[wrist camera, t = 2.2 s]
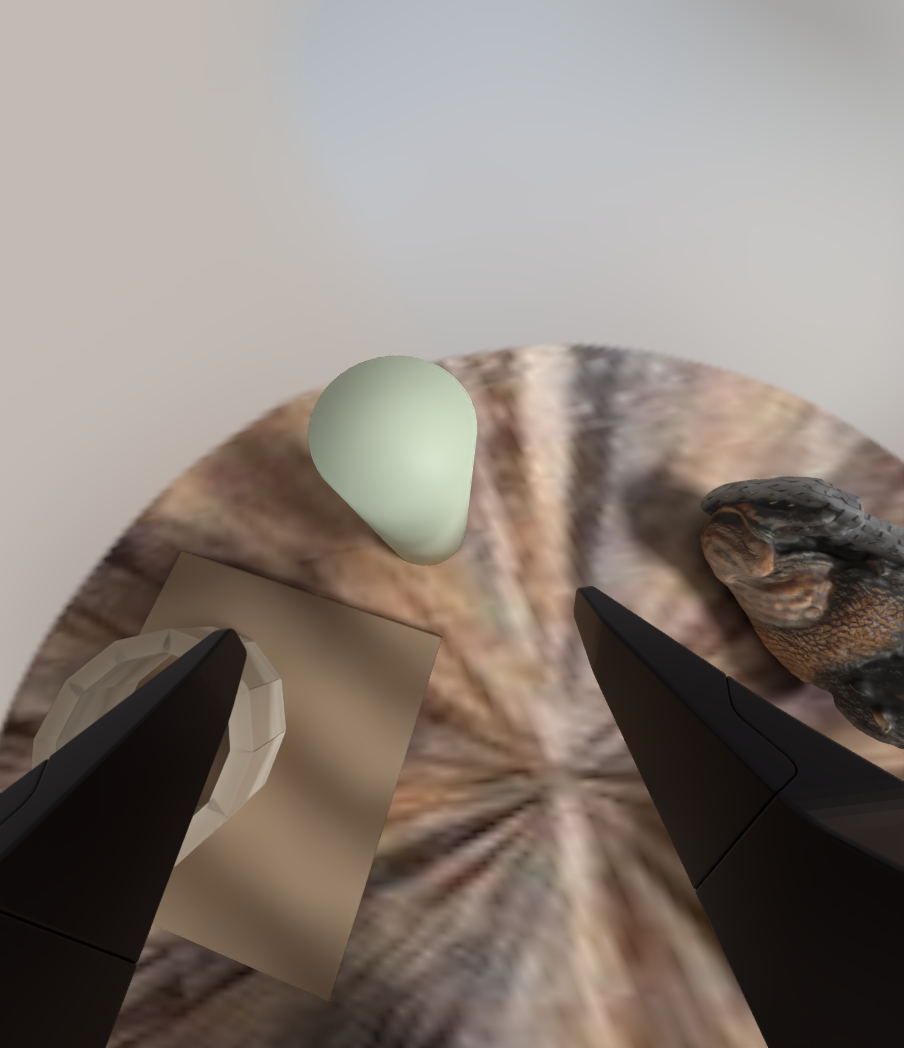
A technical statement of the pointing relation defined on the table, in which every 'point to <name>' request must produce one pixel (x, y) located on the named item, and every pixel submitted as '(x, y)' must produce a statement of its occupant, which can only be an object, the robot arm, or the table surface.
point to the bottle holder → (273, 761)
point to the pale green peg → (399, 452)
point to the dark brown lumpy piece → (818, 589)
